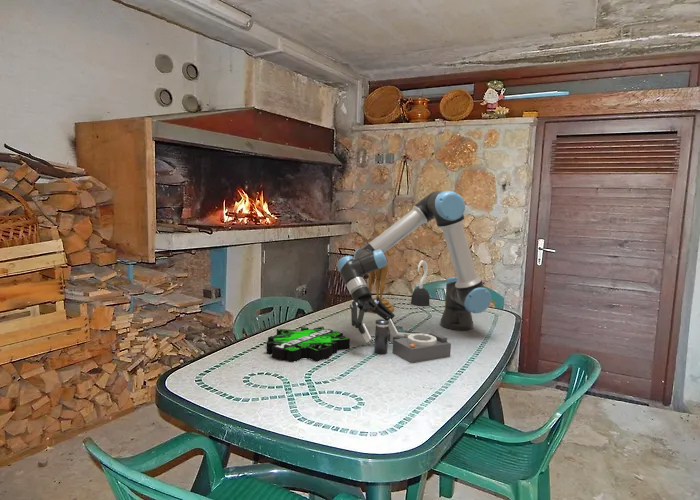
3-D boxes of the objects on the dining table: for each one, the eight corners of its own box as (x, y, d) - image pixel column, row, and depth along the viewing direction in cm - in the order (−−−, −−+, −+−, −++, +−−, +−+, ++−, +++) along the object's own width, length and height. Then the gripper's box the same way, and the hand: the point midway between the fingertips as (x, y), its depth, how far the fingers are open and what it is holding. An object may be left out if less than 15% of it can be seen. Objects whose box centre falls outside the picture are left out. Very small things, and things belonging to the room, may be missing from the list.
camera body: (430, 346, 187) (431, 330, 186) (450, 356, 177) (451, 339, 176) (392, 352, 178) (393, 335, 178) (411, 362, 168) (412, 345, 167)
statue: (396, 307, 250) (400, 230, 246) (391, 315, 234) (395, 232, 229) (365, 304, 254) (368, 228, 249) (358, 311, 238) (362, 230, 233)
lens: (382, 349, 182) (384, 318, 180) (390, 353, 177) (392, 322, 176) (371, 350, 179) (372, 319, 178) (378, 355, 175) (380, 323, 173)
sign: (305, 357, 158) (244, 338, 175) (305, 369, 159) (244, 349, 176) (360, 335, 185) (302, 321, 202) (359, 346, 185) (302, 331, 202)
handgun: (436, 337, 202) (436, 348, 187) (385, 332, 206) (382, 342, 191) (437, 327, 201) (437, 338, 187) (386, 323, 205) (382, 332, 190)
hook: (425, 308, 251) (427, 262, 248) (406, 305, 257) (409, 260, 254) (433, 304, 260) (436, 260, 257) (415, 301, 266) (418, 258, 263)
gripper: (378, 293, 197) (401, 337, 187) (329, 299, 181) (352, 348, 171) (387, 283, 192) (411, 327, 182) (338, 288, 176) (362, 337, 166)
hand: (382, 337), depth 177 cm, fingers open, 13 cm apart
